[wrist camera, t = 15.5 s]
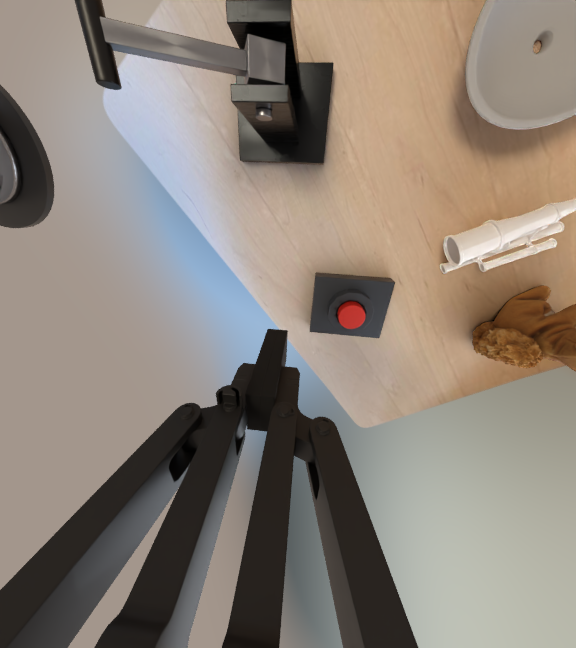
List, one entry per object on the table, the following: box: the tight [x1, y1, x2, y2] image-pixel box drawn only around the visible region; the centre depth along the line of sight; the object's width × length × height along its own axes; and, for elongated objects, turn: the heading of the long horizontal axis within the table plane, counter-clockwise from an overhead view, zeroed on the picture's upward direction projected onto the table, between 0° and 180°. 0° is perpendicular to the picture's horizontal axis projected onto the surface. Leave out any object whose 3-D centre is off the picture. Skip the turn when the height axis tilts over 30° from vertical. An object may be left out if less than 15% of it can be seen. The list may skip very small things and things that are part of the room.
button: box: [338, 301, 365, 329], centre depth 35 cm, size 4×4×2 cm
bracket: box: [226, 0, 333, 165], centre depth 22 cm, size 11×9×14 cm
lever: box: [75, 0, 286, 90], centre depth 16 cm, size 13×5×2 cm, turn 87°
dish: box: [465, 0, 576, 130], centre depth 21 cm, size 18×14×5 cm
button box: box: [310, 273, 395, 338], centre depth 37 cm, size 12×10×4 cm
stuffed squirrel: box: [472, 286, 576, 371], centre depth 31 cm, size 10×14×13 cm
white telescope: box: [440, 198, 576, 274], centre depth 29 cm, size 8×14×5 cm
